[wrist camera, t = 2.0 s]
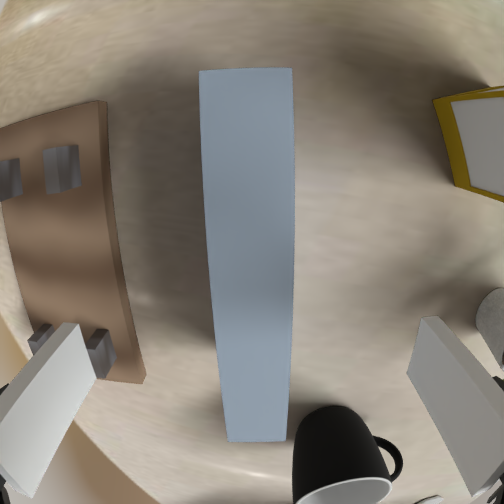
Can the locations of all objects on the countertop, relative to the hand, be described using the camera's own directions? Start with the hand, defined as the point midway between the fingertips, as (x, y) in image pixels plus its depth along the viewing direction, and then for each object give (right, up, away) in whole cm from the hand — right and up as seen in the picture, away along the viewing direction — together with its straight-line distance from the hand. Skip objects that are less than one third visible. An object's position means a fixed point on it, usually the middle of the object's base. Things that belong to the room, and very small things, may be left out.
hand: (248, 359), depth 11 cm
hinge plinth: (-16, +3, +13) cm, 21 cm away
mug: (+10, -15, +19) cm, 26 cm away
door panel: (0, +5, +13) cm, 13 cm away
